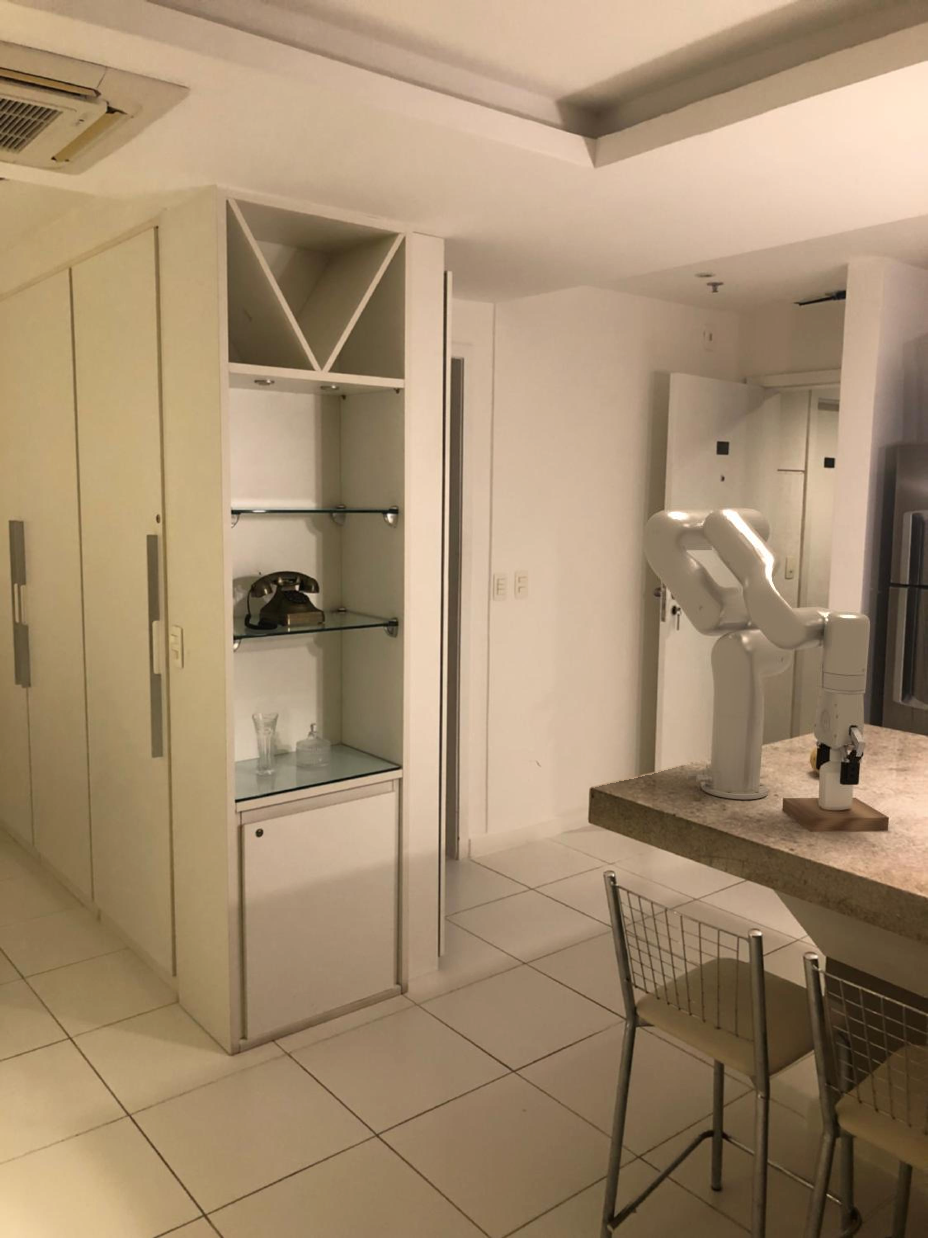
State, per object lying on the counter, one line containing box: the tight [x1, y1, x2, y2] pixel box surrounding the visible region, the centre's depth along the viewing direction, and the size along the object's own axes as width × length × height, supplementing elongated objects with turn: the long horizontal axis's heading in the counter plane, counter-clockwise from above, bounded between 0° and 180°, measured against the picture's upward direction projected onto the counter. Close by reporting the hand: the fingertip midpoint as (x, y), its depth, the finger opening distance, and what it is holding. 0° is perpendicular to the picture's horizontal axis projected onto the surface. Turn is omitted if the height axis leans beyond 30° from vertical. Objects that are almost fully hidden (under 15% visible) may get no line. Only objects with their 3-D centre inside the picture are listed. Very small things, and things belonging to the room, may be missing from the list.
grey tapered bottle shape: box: [818, 747, 854, 810], centre depth 182 cm, size 4×6×12 cm
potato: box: [809, 746, 820, 775], centre depth 214 cm, size 7×11×6 cm, turn 157°
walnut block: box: [781, 797, 890, 832], centre depth 183 cm, size 14×12×3 cm
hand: (836, 776), depth 182 cm, fingers open, 9 cm apart
